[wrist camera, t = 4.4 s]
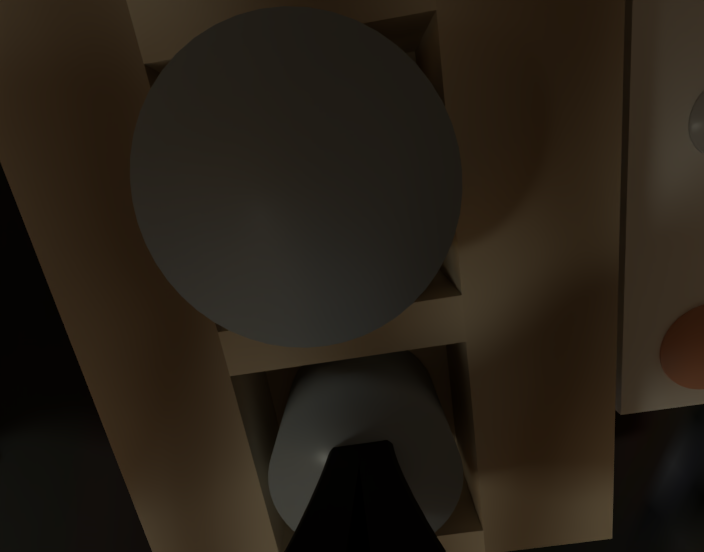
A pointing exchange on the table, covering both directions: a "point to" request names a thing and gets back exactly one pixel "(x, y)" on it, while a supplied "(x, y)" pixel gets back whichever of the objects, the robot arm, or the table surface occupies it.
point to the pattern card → (661, 208)
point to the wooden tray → (397, 335)
